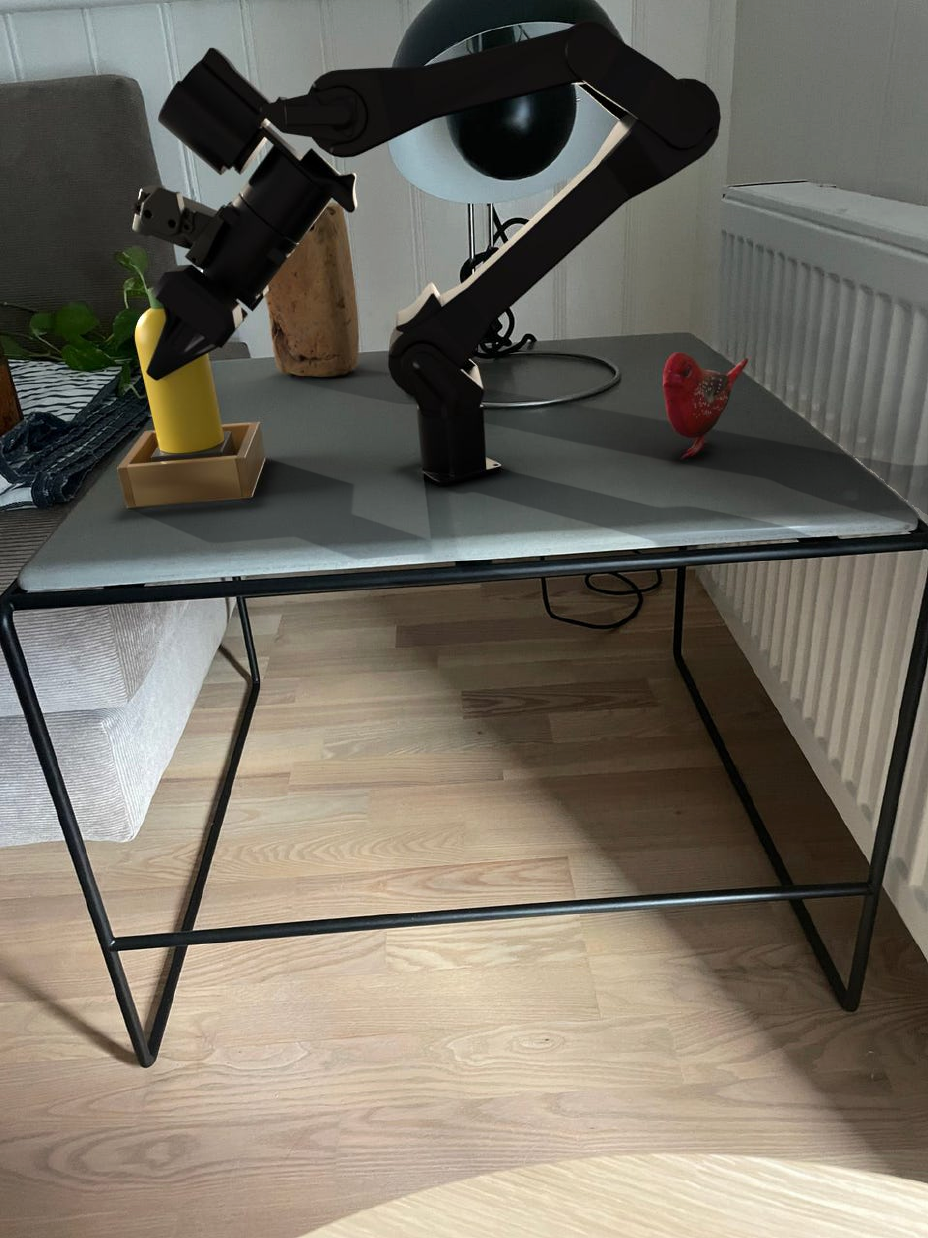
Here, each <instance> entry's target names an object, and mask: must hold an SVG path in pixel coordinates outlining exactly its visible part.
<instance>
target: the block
mask: <svg viewBox="0 0 928 1238" xmlns="http://www.w3.org/2000/svg"><path fill="white" fill-rule="evenodd" d="M351 253H352V252H351V245H350V240H349V234H348V226H347V222H346V217H345V212H344V208H343V207H341V206H340V205H339V204H338V203H337V202H330V203H329V204H328V205H327V207H326V208H325V209H324V211H323V212H322V213H321V215H320V216H319V217H318V219H317V220H316V221H315V223H314V224H313V225H312V227H311V228H310V229H309V231H308V232H307V233H306V235H305V236H304V237H303V239H302V240H301V241H300V243H299V244H298V245H297V247H296V248H295V249H294V251H293V253H292V254H291V255H290V257H289V258H288V259H287V261H286V262H285V263H284V264H283V265H282V267H281V268H280V269H279V271H278V272H277V273H276V275H275V276H274V277H273V279H272V280H271V281H270V283H269V284H268V288H269V291H268V293H267V294H266V295H265V297H264V298H265V304H266V306H267V311H268V319H269V330H270V331H269V332H270V337H271V341H272V351H273V355H274V361H275V365H276V367H277V370H278V371H279V373H280V374H282V375H288V376H290V375H291V376H292V375H295V376H298V377H317V378H329V377H338V376H345V375H347V374H350V373H352V372H353V371H355V370H356V369H357V366H358V362H359V350H360V346H359V345H360V332H359V331H360V330H359V329H360V328H359V313H358V305H357V304H358V303H357V295H356V293H357V292H356V286H355V285H356V284H355V278H354V277H355V276H354V268H353V264H352V262H353V261H352V254H351Z"/></svg>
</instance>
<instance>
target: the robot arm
mask: <svg viewBox="0 0 928 1238" xmlns="http://www.w3.org/2000/svg"><path fill="white" fill-rule="evenodd" d="M569 85H576V86H578V87H579V88H580V89H581V90H583V91H584V93H586V94H587V95H588V96H590V97H591V98H592V99H593V100H594V101H595V102H597V104H599V105H600V106H601V107H602V108H603V109H604V110H606V111H607V112H608V113H609V114H610V115H612V116H613V117H614V118H616V119H617V120H618V121H617V123H616V124H615V125H614V126H613V128H612V129H611V131H610V133H609V135H608V136H607V138H606V139H605V140H604V142H603V144H602V145H601V147H600V149H599V150H598V152H597V153H596V155H595V156H594V157H593V159H592V160H591V161H590V163H589V164H588V165H587V166H586V167H585V168H584V169H583V170H581V172H579V173H578V174H577V175H576V176H575V177H574V178H573V179H572V180H571V181H570V182H568V183H567V185H566V186H565V187H563V188H562V189H561V190H560V191H559V192H558V193H557V194H556V195H555V196H554V197H552V199H551V200H550V201H549V202H547V204H545V205H544V206H543V207H542V208H541V209H540V210H539V211H538V212H537V213H536V214H535V215H534V216H532V218H530V219H529V221H528V222H526V223H525V224H524V225H523V226H522V227H521V228H520V229H519V230H518V231H517V232H516V233H514V235H513V236H511V237H510V238H509V239H507V241H506V242H505V243H504V244H503V245H501V246H500V247H499V249H498V250H497V251H496V252H494V253H493V254H492V255H491V256H490V257H489V258H488V259H487V260H486V261H485V262H484V263H482V265H481V266H479V267H478V268H477V269H476V270H475V271H474V272H473V273H472V274H471V275H470V276H469V277H467V279H465V280H464V281H463V282H461V283H460V284H459V285H457V286H455V287H453V288H451V289H449V290H448V291H445V292H444V293H440V292H439V291H438V289H437V288H436V286H435V284H434V282H429V283H428V285H427V286H426V287H425V288H424V289H423V290H422V292H421V294H420V295H419V296H418V297H417V299H415V301H414V302H413V303H412V304H411V305H409V306H408V307H407V308H404V309H402V310H399V311H397V313H396V321H395V327H394V328H393V329H392V332H391V335H390V339H389V346H388V354H387V355H388V357H387V366H388V370H389V373H390V377H391V378H392V380H393V381H394V383H395V385H396V386H397V387H399V388H400V389H401V390H402V391H404V392H405V393H407V394H409V395H412V396H413V398H414V400H415V402H416V403H415V404H416V413H417V414H416V415H417V417H416V418H417V428H418V429H417V430H418V437H419V438H418V440H419V451H420V458H421V459H420V461H421V467H422V476H423V478H424V479H425V480H428V481H429V482H430V483H431V482H432V483H433V484H435V485H437V486H440V487H443V486H448V485H452V484H455V483H459V482H463V481H466V480H470V479H474V478H478V477H482V476H485V475H490V474H492V473H496V472H501V470H502V464H501V463H499V462H497V461H495V460H492V459H490V458H488V457H487V450H486V429H485V428H486V427H485V412H484V411H485V410H484V408H485V407H484V405H483V399H484V395H485V389H484V386H483V381H482V378H481V374H480V370H479V369H480V368H479V366H478V365H477V364H476V363H475V362H474V361H473V360H472V359H471V358H472V357H473V356H474V353H475V352H476V351H477V349H478V348H479V346H480V345H481V342H482V341H483V339H484V338H485V337H486V335H487V333H488V332H489V330H490V328H491V327H492V326H493V324H494V323H495V322H496V321H498V319H499V318H501V317H502V316H503V314H504V313H506V312H507V311H508V310H510V308H512V306H514V304H516V303H517V302H518V301H520V299H522V297H523V296H524V295H525V294H527V293H528V292H529V291H530V290H531V289H532V288H533V287H534V286H535V285H537V284H538V283H539V282H540V281H541V280H542V279H543V278H544V277H545V276H546V275H547V274H549V273H550V272H551V271H552V270H553V269H555V267H556V266H557V265H558V264H560V262H562V261H563V260H564V259H565V258H566V257H567V256H568V255H569V254H570V253H572V252H573V251H574V250H575V249H576V248H577V247H578V246H579V245H580V244H582V242H583V241H585V240H586V239H587V238H588V237H589V236H591V234H592V233H593V232H594V231H596V230H597V229H598V228H599V227H600V226H601V225H602V224H604V223H605V222H606V221H607V220H608V219H609V218H610V217H611V216H612V215H613V214H615V212H617V211H618V210H619V209H620V208H621V207H622V206H623V205H624V204H625V203H628V202H629V201H630V200H631V199H633V198H635V197H637V196H639V195H641V194H643V193H645V192H647V191H648V190H650V189H652V188H654V187H656V186H658V185H660V184H662V183H664V182H666V181H667V180H669V179H670V178H672V177H673V176H675V175H677V174H679V173H680V172H681V171H683V170H685V169H686V168H687V167H689V166H690V165H692V164H693V163H695V162H696V161H698V160H700V159H701V158H703V157H704V156H705V155H706V154H707V153H708V152H709V151H710V149H711V148H712V147H713V146H714V145H715V143H716V141H717V139H718V137H719V134H720V133H719V131H720V126H721V119H722V116H721V108H720V103H719V101H718V98H717V96H716V94H715V92H714V91H713V90H712V89H711V87H709V86H708V84H706V83H705V82H702V81H700V80H698V79H696V78H686V77H682V78H676V77H675V76H674V75H672V74H671V73H670V72H668V71H667V70H666V69H665V68H663V67H662V66H660V65H659V64H657V62H655V61H654V60H652V59H650V58H648V57H647V56H646V55H643V54H642V53H641V52H640V51H637V50H636V49H634V48H633V47H632V46H630V45H628V44H627V43H625V42H624V41H623V40H621V39H620V38H619V37H617V35H615V34H614V33H612V31H611V30H610V29H609V28H608V27H607V26H606V25H605V24H604V23H603V22H600V21H598V20H595V19H583V20H581V21H578V22H577V23H575V24H573V25H571V26H570V27H569V28H565V29H560V30H556V31H553V32H549V33H545V34H541V35H538V36H533V37H531V38H526V39H522V40H519V41H518V40H517V41H515V42H510V43H507V44H503V45H499V46H496V47H491V48H487V49H484V50H480V51H476V52H472V53H468V54H464V55H460V56H457V57H453V58H449V59H445V60H440V61H438V62H437V61H436V62H434V63H430V64H426V65H425V64H424V65H419V66H394V67H393V66H392V67H391V66H388V67H367V68H366V67H365V68H364V67H363V68H348V69H347V68H345V69H344V68H343V69H335V70H330V71H327V72H325V73H323V74H322V75H320V76H319V77H317V78H316V79H315V80H314V81H313V83H312V84H311V86H310V88H309V90H308V91H307V93H305V94H302V95H298V96H297V95H296V96H293V97H290V98H289V97H286V96H278V97H277V98H276V99H275V101H273V102H272V101H271V100H270V99H269V98H267V97H266V96H265V95H264V94H263V93H262V92H261V91H260V90H259V89H258V88H256V87H255V86H254V85H253V84H252V83H251V82H250V81H249V80H248V79H247V78H246V77H245V76H243V75H242V74H241V72H239V70H238V69H237V68H236V67H235V65H234V64H233V63H232V61H231V60H230V59H229V58H228V56H226V55H225V54H224V53H223V52H222V51H221V50H219V49H218V48H215V47H209V48H208V49H207V51H206V52H205V54H204V55H203V57H202V58H201V59H200V60H199V61H198V62H197V63H195V65H194V66H193V67H192V68H191V69H190V70H189V71H188V72H187V74H186V75H185V76H184V77H183V79H182V80H178V81H176V83H175V84H174V85H173V87H172V89H171V91H170V92H169V94H168V95H167V96H166V99H165V100H164V102H163V104H162V106H161V108H160V110H159V113H158V117H157V121H158V123H159V124H161V125H162V126H163V127H164V128H165V129H166V130H168V132H170V133H171V134H172V135H173V136H174V137H176V138H177V139H178V140H179V141H180V142H181V143H183V145H185V146H186V147H187V148H188V149H190V150H191V151H192V152H193V153H194V154H195V155H196V156H197V157H198V158H199V159H201V160H202V161H203V162H204V163H205V164H207V165H208V166H209V168H211V169H212V170H214V171H215V173H217V174H218V175H219V176H222V175H223V174H225V173H226V171H230V170H231V169H232V168H233V170H234V171H235V172H236V173H237V174H239V175H240V176H241V175H242V174H243V173H244V172H245V171H246V170H247V169H248V167H250V165H251V164H252V163H253V161H254V160H255V158H256V157H257V155H258V154H259V153H260V151H261V150H262V149H263V147H264V146H265V144H266V143H267V141H268V142H269V143H271V144H272V146H271V148H270V149H269V150H268V152H267V153H266V155H265V156H264V157H263V159H262V160H261V161H260V163H259V164H258V166H257V167H256V169H255V170H254V171H253V173H252V174H251V176H250V177H249V179H248V180H247V181H246V183H245V184H244V186H243V187H242V188H241V190H240V192H239V193H238V194H237V195H236V197H235V198H234V199H233V201H231V200H230V201H229V202H228V203H227V204H226V205H225V204H223V205H221V206H220V207H219V208H218V209H214V208H212V207H210V206H207V205H206V204H204V203H201V202H199V201H196V200H193V199H191V198H188V197H187V196H184V195H183V194H182V192H181V191H178V190H177V191H172V190H170V189H167V188H166V186H165V185H163V184H162V185H161V184H160V185H152V184H151V185H147V186H142V187H141V188H140V191H139V195H138V199H137V201H135V202H134V203H133V204H132V212H133V213H134V218H133V223H132V226H131V227H132V228H131V229H132V231H134V232H135V233H137V234H140V235H142V236H145V237H150V236H152V237H155V238H157V239H159V240H162V241H165V242H167V243H170V244H173V245H175V246H178V247H180V248H183V249H187V250H188V251H187V253H186V254H185V255H184V258H185V259H186V260H188V261H189V262H190V263H191V264H179V265H178V264H177V265H174V266H172V267H171V268H169V269H167V270H166V271H164V272H163V274H162V275H161V277H160V278H159V279H158V281H157V282H156V283H155V285H154V286H153V287H154V288H153V290H152V291H151V293H152V294H153V296H154V297H155V299H157V300H158V301H159V302H160V303H162V306H163V309H164V313H165V316H166V320H165V323H164V326H163V329H162V331H161V334H160V337H159V339H158V342H157V344H156V347H155V350H154V352H153V355H152V357H151V360H150V362H149V365H148V368H147V370H146V373H147V375H149V376H150V377H151V378H152V379H154V380H156V381H158V380H160V379H162V378H163V377H165V376H167V375H169V374H171V373H172V372H174V371H176V370H178V369H179V368H181V367H183V366H185V365H187V364H188V363H190V362H192V361H194V360H196V359H198V358H199V357H201V356H203V355H205V354H207V353H208V354H209V353H211V352H212V351H214V350H216V349H218V348H219V349H223V347H224V346H225V345H226V344H227V343H228V342H229V340H230V339H231V338H232V336H233V335H234V334H235V332H236V331H237V330H238V328H239V327H240V326H241V325H242V323H244V322H245V321H246V319H247V318H248V317H249V313H248V311H246V310H245V309H244V308H243V307H241V303H242V304H243V305H244V306H246V307H247V308H248V309H249V310H250V311H251V312H254V311H255V310H256V309H257V308H258V306H259V305H260V304H261V302H262V301H263V299H264V298H265V295H266V294H267V293H268V291H269V288H268V284H269V283H270V281H271V280H272V279H273V277H274V276H275V275H276V273H277V272H278V271H279V269H280V268H281V267H282V265H283V264H284V263H285V262H286V261H287V259H288V258H289V257H290V255H291V254H292V253H293V251H294V249H295V248H296V247H297V245H298V244H299V243H300V241H301V240H302V239H303V237H304V236H305V235H306V233H307V232H308V231H309V229H310V228H311V227H312V225H313V224H314V223H315V221H316V220H317V219H318V217H319V216H320V215H321V213H322V212H323V211H324V209H325V208H326V207H327V205H328V204H329V203H331V202H332V200H334V201H335V203H336V204H339V205H340V206H341V207H342V208H343V210H345V211H346V212H347V213H350V214H353V213H354V212H355V210H356V209H357V208H358V200H357V196H356V181H357V174H356V173H355V172H349V173H340V172H339V171H338V170H337V169H336V168H335V167H333V166H332V164H330V163H329V162H328V161H327V160H326V159H325V158H324V157H323V156H321V155H320V153H319V152H317V151H316V150H315V149H314V148H313V147H310V148H309V149H308V151H306V153H304V155H303V154H301V153H300V152H299V151H298V150H296V149H295V148H294V146H292V145H291V144H289V143H288V142H287V141H286V140H285V139H284V138H283V137H282V136H281V135H280V134H279V133H277V132H276V131H275V130H274V129H273V128H272V127H271V126H270V124H271V125H272V126H273V127H275V128H276V129H277V130H278V131H279V132H280V133H282V134H285V135H286V134H287V135H293V136H298V137H306V138H311V139H312V140H313V142H314V143H315V144H316V145H317V146H318V148H320V149H321V150H322V151H324V152H326V153H328V155H331V156H333V157H336V158H340V159H344V158H345V159H347V158H354V157H357V156H361V155H362V154H364V153H366V152H368V151H371V150H373V149H375V148H377V147H379V146H381V145H383V144H386V143H387V142H389V141H392V140H394V139H396V138H398V137H400V136H402V135H404V134H406V133H408V132H410V131H412V130H414V129H416V128H419V127H421V126H422V125H425V124H428V123H429V122H432V121H433V120H435V119H439V118H444V117H448V116H451V115H456V114H459V113H463V112H467V111H471V110H475V109H479V108H483V107H487V106H490V105H495V104H498V103H502V102H506V101H511V100H514V99H519V98H522V97H526V96H530V95H534V94H538V93H543V92H546V91H549V90H554V89H558V88H561V87H565V86H569ZM239 301H240V302H239Z"/></svg>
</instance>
